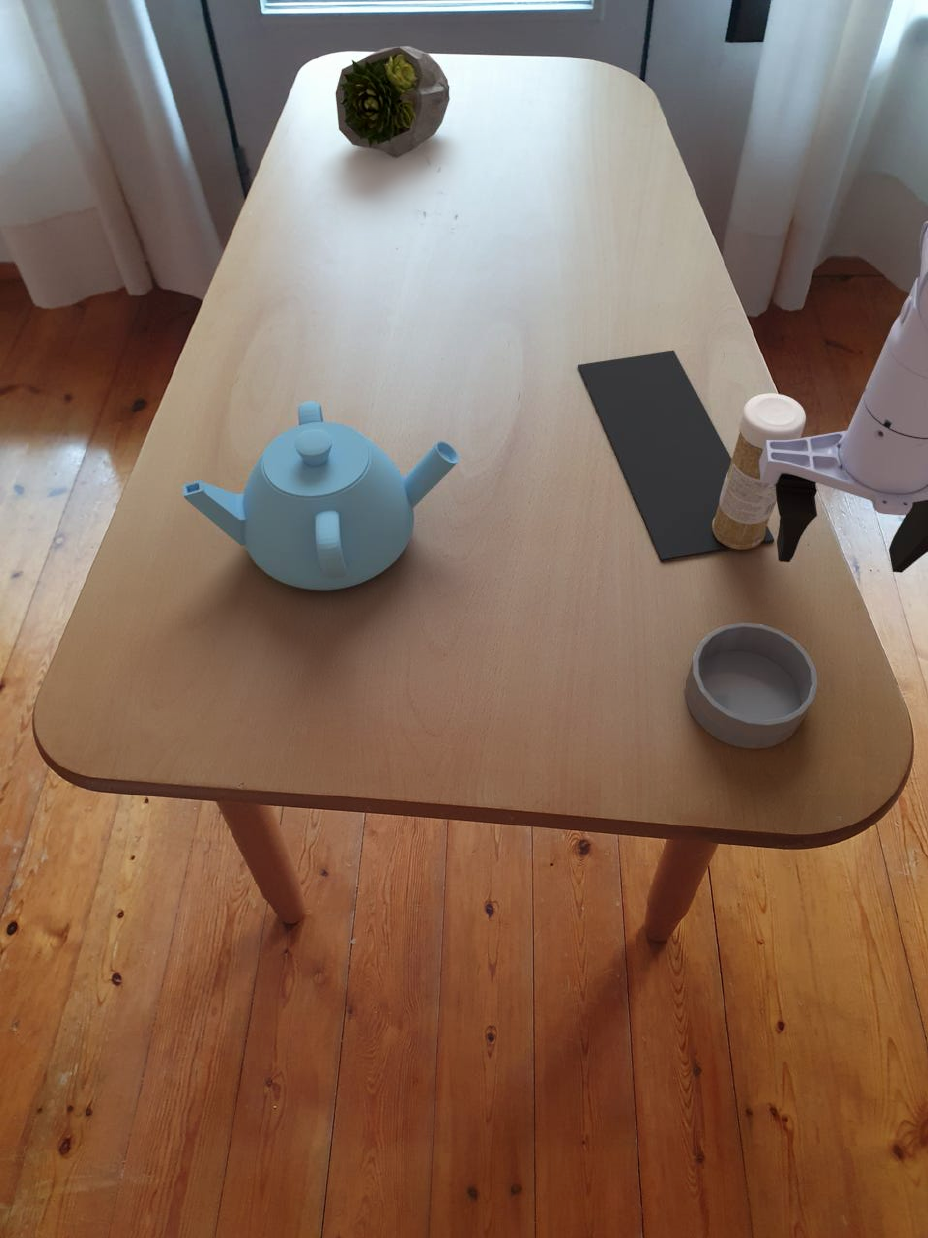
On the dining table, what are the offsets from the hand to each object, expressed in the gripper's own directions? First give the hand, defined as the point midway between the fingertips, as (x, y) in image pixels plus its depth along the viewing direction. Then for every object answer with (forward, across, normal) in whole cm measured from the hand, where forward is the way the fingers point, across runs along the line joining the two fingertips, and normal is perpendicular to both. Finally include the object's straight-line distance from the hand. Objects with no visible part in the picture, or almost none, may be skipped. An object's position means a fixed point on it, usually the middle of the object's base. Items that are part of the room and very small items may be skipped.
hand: (839, 556), depth 66 cm
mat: (+11, -10, +21) cm, 26 cm away
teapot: (+11, -38, +7) cm, 41 cm away
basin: (+10, -4, -6) cm, 13 cm away
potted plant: (+12, -44, +73) cm, 86 cm away
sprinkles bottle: (+10, -4, +11) cm, 16 cm away
